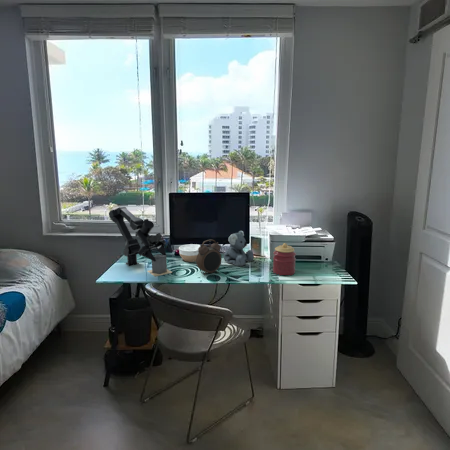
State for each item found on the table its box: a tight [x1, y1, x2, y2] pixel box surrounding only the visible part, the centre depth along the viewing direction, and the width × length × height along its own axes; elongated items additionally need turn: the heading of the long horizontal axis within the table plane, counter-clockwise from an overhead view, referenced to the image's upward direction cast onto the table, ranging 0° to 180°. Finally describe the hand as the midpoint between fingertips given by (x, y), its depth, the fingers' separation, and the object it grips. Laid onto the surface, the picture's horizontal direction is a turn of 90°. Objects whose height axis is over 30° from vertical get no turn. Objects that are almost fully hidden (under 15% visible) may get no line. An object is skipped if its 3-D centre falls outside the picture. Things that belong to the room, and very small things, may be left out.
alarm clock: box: [195, 239, 222, 276], centre depth 201 cm, size 15×7×20 cm, turn 126°
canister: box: [272, 242, 297, 276], centre depth 203 cm, size 13×13×18 cm
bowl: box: [178, 243, 201, 263], centre depth 229 cm, size 16×16×8 cm
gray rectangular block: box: [151, 253, 168, 274], centre depth 203 cm, size 6×6×10 cm
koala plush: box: [223, 230, 255, 267], centre depth 223 cm, size 17×18×20 cm
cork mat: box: [146, 268, 173, 278], centre depth 205 cm, size 11×11×1 cm
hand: (160, 258), depth 202 cm, fingers open, 9 cm apart
